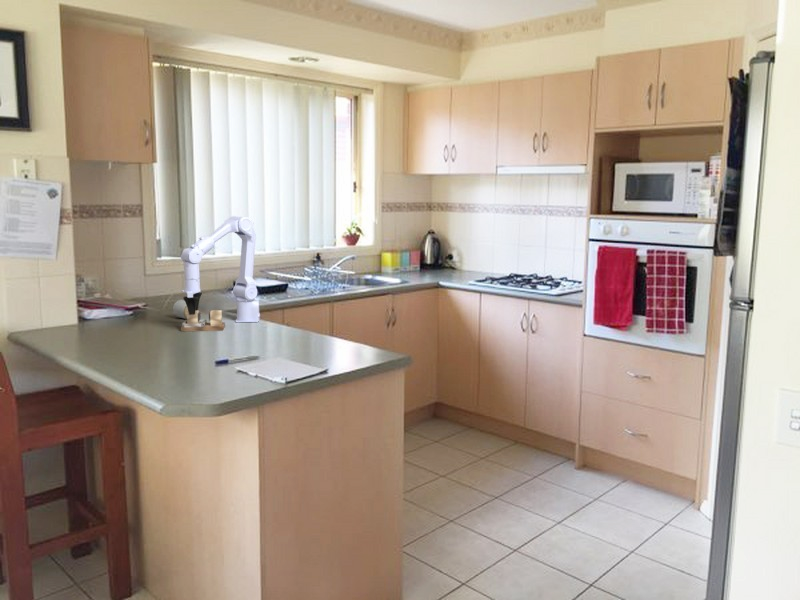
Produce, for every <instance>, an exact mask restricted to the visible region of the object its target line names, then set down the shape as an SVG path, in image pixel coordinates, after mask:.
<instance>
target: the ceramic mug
mask: <svg viewBox="0 0 800 600" xmlns="http://www.w3.org/2000/svg"><path fill="white" fill-rule="evenodd" d="M187 312H188V308H187V305H186V302H185V301H184V299H178V300H177V301H175V302H174V304H173V306H172V313H173V315H174V316H175V317H176V318H178V319H185V320H187ZM200 315H201V312H200Z"/></svg>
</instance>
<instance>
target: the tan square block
mask: <svg viewBox="0 0 800 600" xmlns="http://www.w3.org/2000/svg"><path fill="white" fill-rule="evenodd" d="M200 313H201V312H200V310H199V309H198V310H196V311H195V315H189V312H187V319H186V320H187V324H199V321H200V320H201V314H200Z"/></svg>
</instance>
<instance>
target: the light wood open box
mask: <svg viewBox="0 0 800 600" xmlns="http://www.w3.org/2000/svg"><path fill="white" fill-rule="evenodd" d="M222 315H223V310H221V309H220V310H219V309H215V310H214V309H211V310H210V311H209V312H208V321H209V322H207V319H200V321H199V324H187V319H185V320H184V321H183V322H182V323H181V327H180V332H214V331H215V332H217V331H218V332H221V331H222V332H223V331H224V330H225V327H226V322H223V316H222Z"/></svg>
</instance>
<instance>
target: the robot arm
mask: <svg viewBox="0 0 800 600" xmlns="http://www.w3.org/2000/svg"><path fill="white" fill-rule="evenodd" d="M229 233H234V234H236V235H237V236H238V237H239V238H240V239H241V249H240V250H241V251H240V264H239V273H238V274H239V276H238V277H237V278H236V280H235V285H234V287H233V289H232V293H233V296H234V297H235V299H236V319H235V323H259V322H258V321H260V317H261V313H260V300H259V299H256V298H257V296H258V289H257V282H256V280H255V279H254V267H255V266H254V263H255V252H256V251H255V249H256V239H257V237H256V232H255V229H254V222H253V220H251V219H250V218H249V217H247V216H235V215H231V216H230V217H228V218H227V219H225V220H224V222H223V223H222V224H221V225H220V226H219V227H218V228H216V229H215V230H214V231H213V232H212V233H210V234H209V236H207V235H204V236H199V238H198V240H197V241H196V242H195V243H194V244H192V243H191V245H190V247H188V248H184V249H183V250H182V252H181V255H180V260H181V261H182V262H183V271H184V274H183V275H184V289H181V292H183V293H186V295H187V296H183V299H182V300H184V301H185V302H186V305H187V308H188V312H189V315H195V311H196V310H199V303H200V299H201V296H202V294H203V292H201V291H202V290H201V284H200V281H201V280H200V279H201V278H200V275H201V274H200V262H201V261H202V260H203V256H205V255H206V254H207V253H209V252H210V251H211V250H213V248H214V247H215V243H216V242H218V241H219V240H221V239H222V238H224V237H225V236H227V235H228V234H229Z"/></svg>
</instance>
